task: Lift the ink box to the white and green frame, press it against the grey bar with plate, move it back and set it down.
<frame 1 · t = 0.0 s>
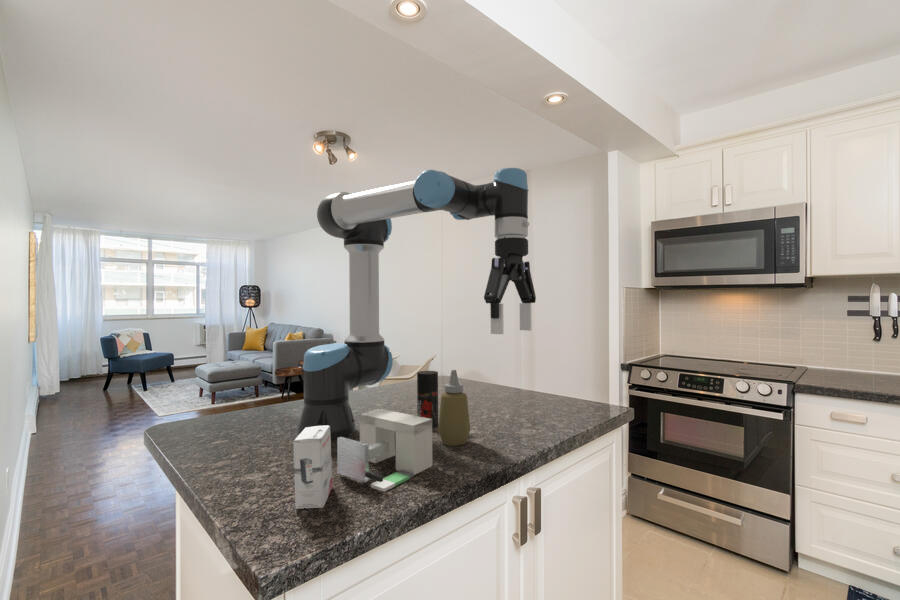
hand: (512, 332, 98), 28 cm above the worktop, fingers open, 13 cm apart
deodorant: (427, 425, 122), on the worktop
white and green frame: (376, 470, 90), on the worktop
squeeze bottle: (454, 443, 107), on the worktop
ink box: (314, 499, 77), on the worktop
grey bar with plate: (375, 454, 87), point 4 cm above the worktop, slide at 0.0 cm
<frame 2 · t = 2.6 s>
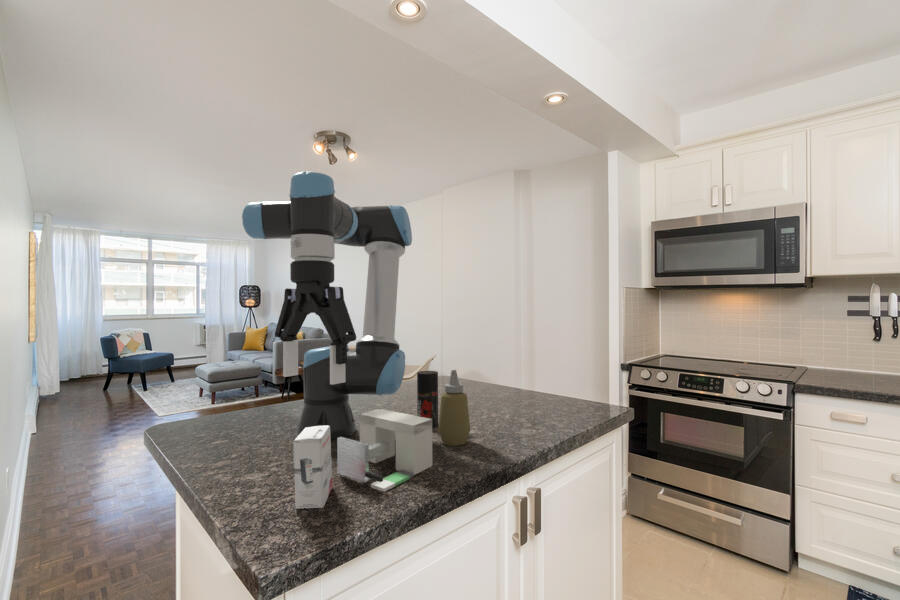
hand: (313, 379, 77), 21 cm above the worktop, fingers open, 13 cm apart
nothing on the worktop moved.
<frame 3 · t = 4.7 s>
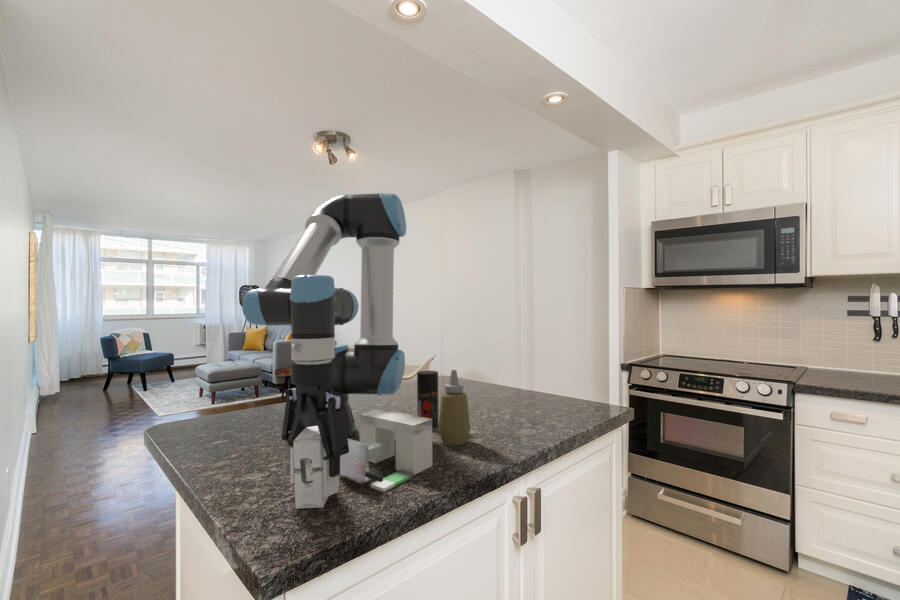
hand: (313, 486, 77), 2 cm above the worktop, fingers closed on ink box, 9 cm apart
ink box: (314, 499, 77), on the worktop, touching gripper
everything else where it was.
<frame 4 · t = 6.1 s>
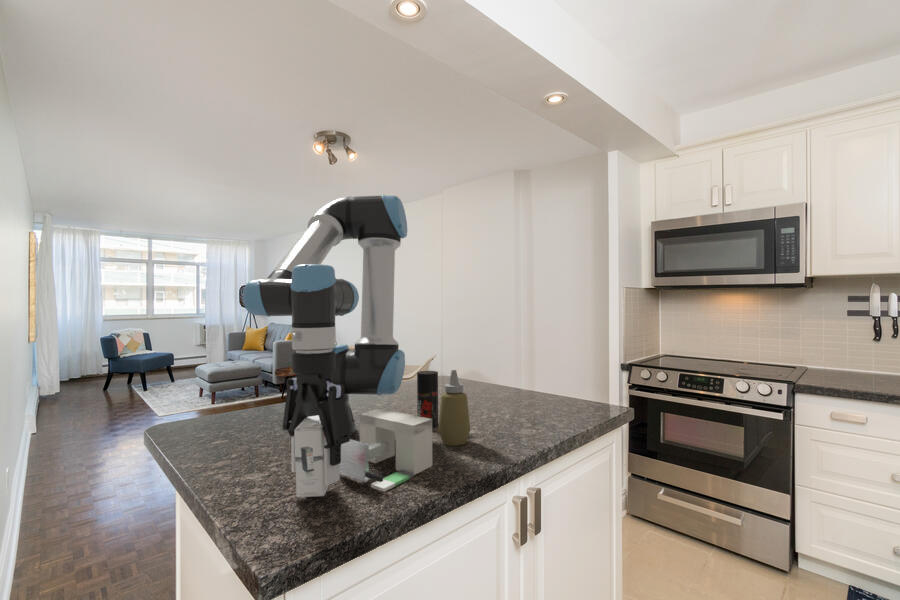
hand: (314, 475, 77), 4 cm above the worktop, fingers closed on ink box, 9 cm apart
ink box: (314, 488, 77), point 2 cm above the worktop, touching gripper
everything else where it was.
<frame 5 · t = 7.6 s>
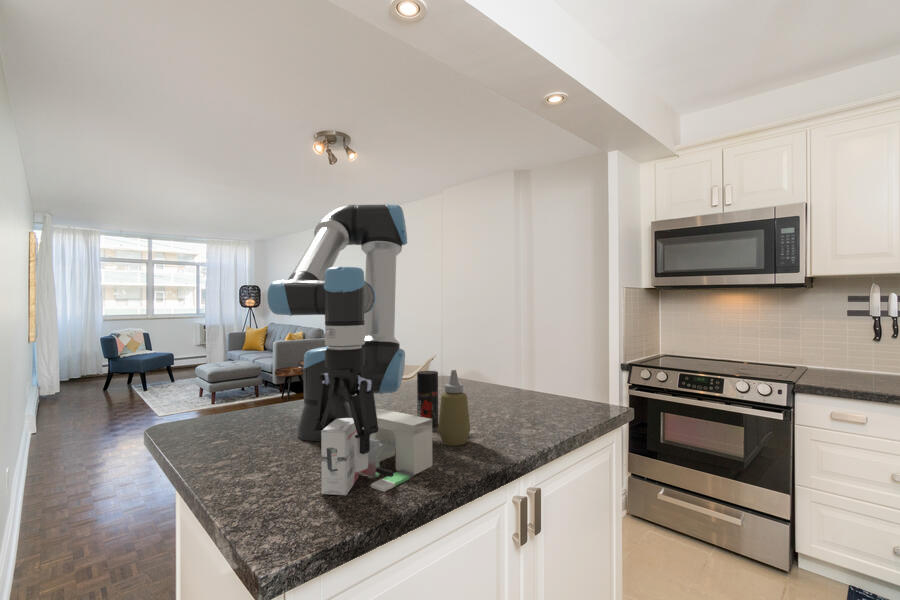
hand: (345, 464, 83), 4 cm above the worktop, fingers open, 8 cm apart
ink box: (340, 486, 82), on the worktop, touching gripper
grey bar with plate: (385, 450, 89), point 4 cm above the worktop, slide at 2.8 cm
everything else where it was.
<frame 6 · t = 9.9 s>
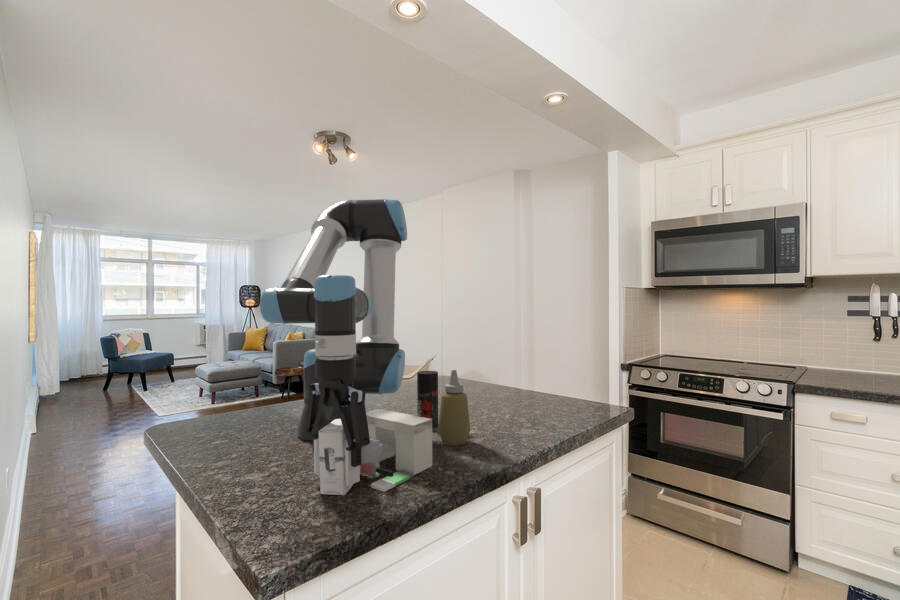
hand: (336, 477, 81), 2 cm above the worktop, fingers open, 8 cm apart
ink box: (339, 486, 82), on the worktop
everything else where it was.
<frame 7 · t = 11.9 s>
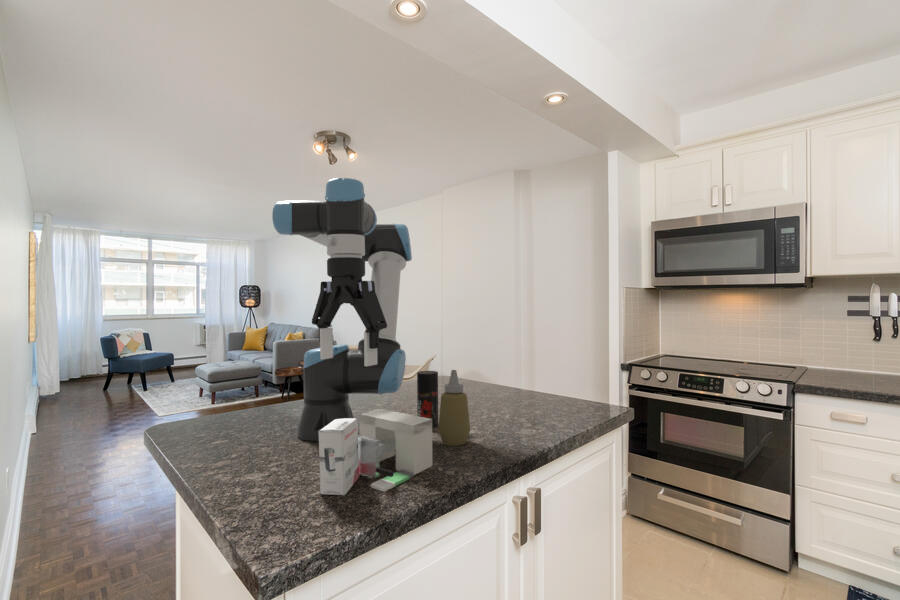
hand: (347, 361, 88), 23 cm above the worktop, fingers open, 13 cm apart
nothing on the worktop moved.
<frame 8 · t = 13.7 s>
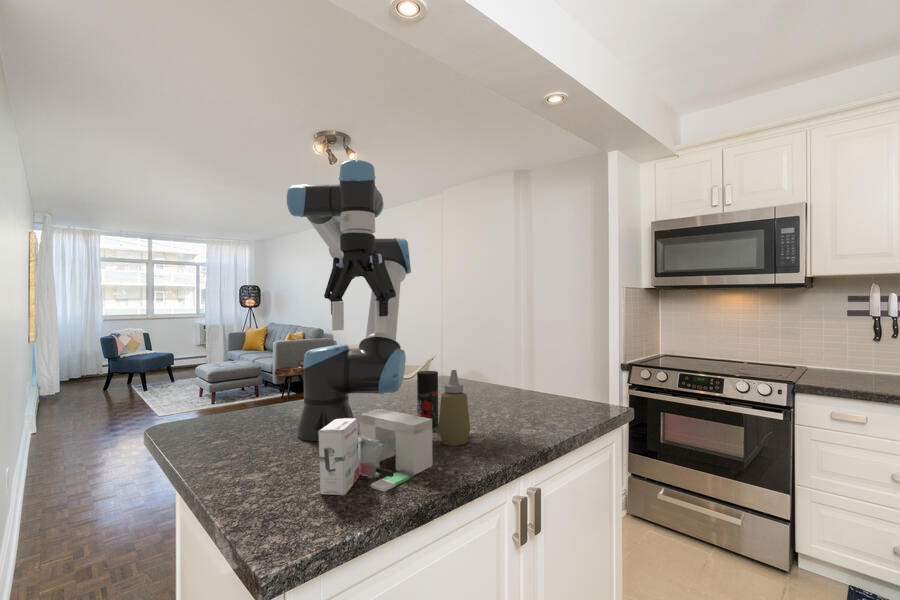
hand: (358, 331, 94), 29 cm above the worktop, fingers open, 13 cm apart
nothing on the worktop moved.
at the end: grey bar with plate slide at 2.8 cm; ink box tilted 0°; the gripper is holding nothing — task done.
